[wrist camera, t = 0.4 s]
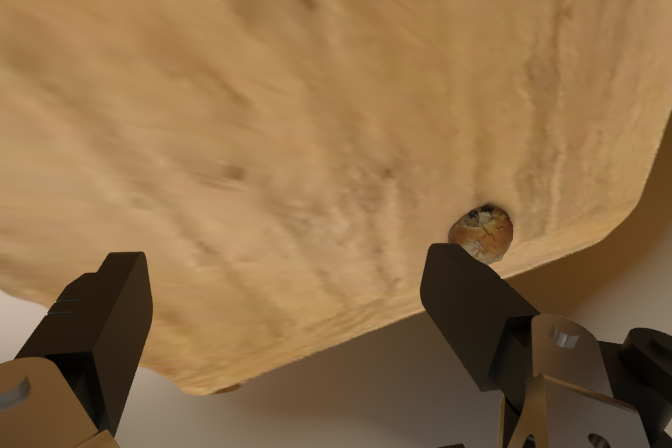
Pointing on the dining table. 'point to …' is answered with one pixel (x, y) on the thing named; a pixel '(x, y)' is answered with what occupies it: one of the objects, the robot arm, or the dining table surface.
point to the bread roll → (483, 233)
